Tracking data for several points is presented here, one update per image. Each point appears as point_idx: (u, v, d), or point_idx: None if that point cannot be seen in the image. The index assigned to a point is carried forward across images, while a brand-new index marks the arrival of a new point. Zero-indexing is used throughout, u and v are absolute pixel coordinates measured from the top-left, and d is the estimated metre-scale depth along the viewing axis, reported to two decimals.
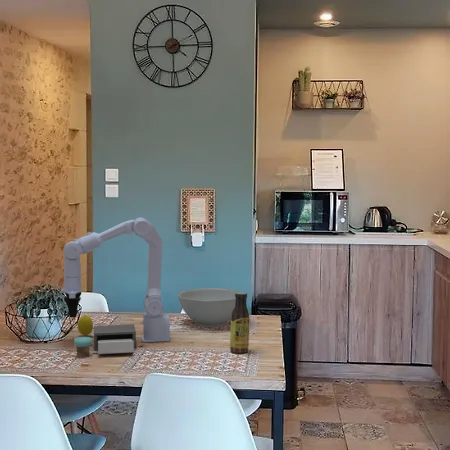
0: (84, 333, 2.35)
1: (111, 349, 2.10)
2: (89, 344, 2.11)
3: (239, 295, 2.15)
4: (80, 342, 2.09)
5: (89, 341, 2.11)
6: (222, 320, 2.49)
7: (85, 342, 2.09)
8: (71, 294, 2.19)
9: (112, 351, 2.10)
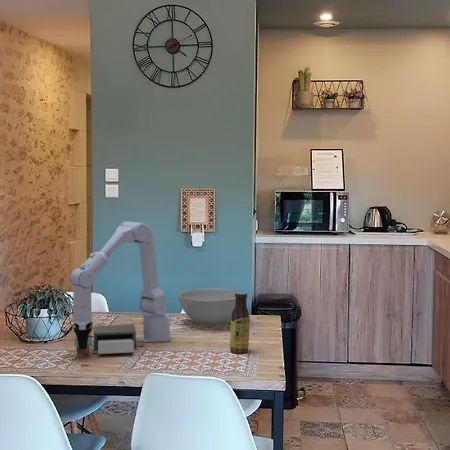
0: None
1: (111, 349, 2.10)
2: (89, 344, 2.11)
3: (239, 295, 2.15)
4: None
5: (89, 341, 2.11)
6: (222, 320, 2.49)
7: None
8: (81, 325, 2.04)
9: (112, 351, 2.10)
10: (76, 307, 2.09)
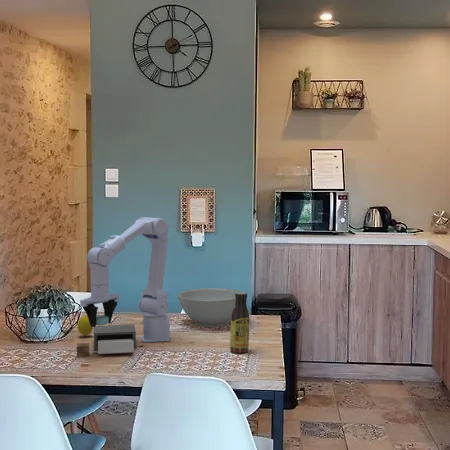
0: (84, 333, 2.35)
1: (111, 349, 2.10)
2: (100, 323, 2.11)
3: (239, 295, 2.15)
4: None
5: (100, 320, 2.11)
6: (222, 320, 2.49)
7: None
8: (81, 302, 2.08)
9: (112, 351, 2.10)
10: (91, 284, 2.12)
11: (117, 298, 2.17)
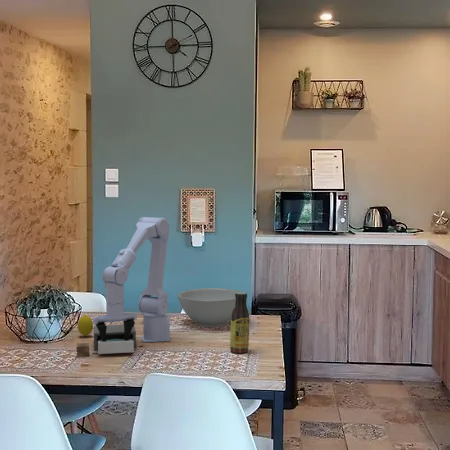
0: (84, 333, 2.35)
1: (111, 349, 2.10)
2: None
3: (239, 295, 2.15)
4: None
5: None
6: (222, 320, 2.49)
7: None
8: (93, 319, 2.12)
9: (112, 351, 2.10)
10: None
11: (134, 318, 2.17)
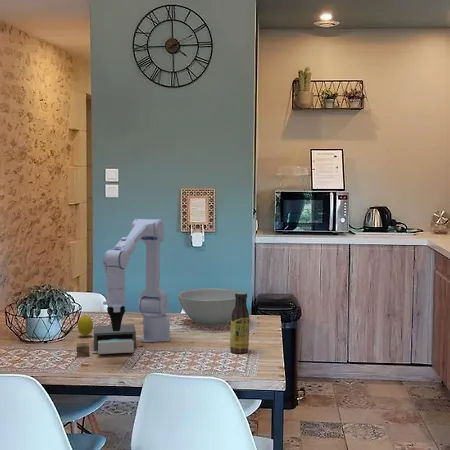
0: (84, 333, 2.35)
1: (111, 349, 2.10)
2: None
3: (239, 295, 2.15)
4: None
5: None
6: (222, 320, 2.49)
7: None
8: (116, 308, 1.98)
9: (112, 351, 2.10)
10: (110, 289, 2.02)
11: None
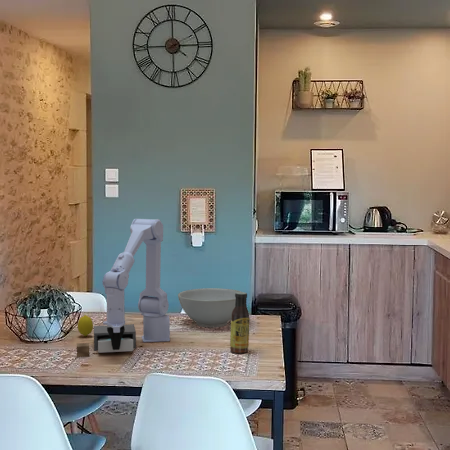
0: (84, 333, 2.35)
1: (111, 348, 2.12)
2: None
3: (239, 295, 2.15)
4: None
5: None
6: (222, 320, 2.49)
7: None
8: (115, 328, 2.03)
9: (112, 350, 2.12)
10: (109, 310, 2.07)
11: None
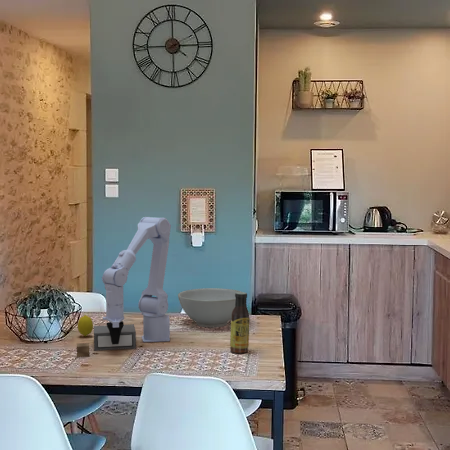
0: (84, 333, 2.35)
1: (110, 342, 2.19)
2: None
3: (239, 295, 2.15)
4: None
5: None
6: (222, 320, 2.49)
7: None
8: (115, 323, 2.10)
9: (111, 344, 2.19)
10: (109, 305, 2.14)
11: None
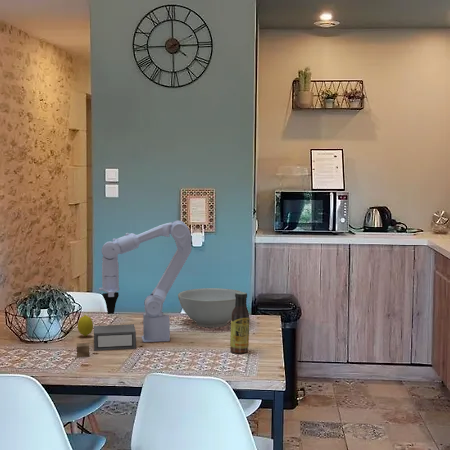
0: (84, 333, 2.35)
1: (110, 342, 2.19)
2: None
3: (239, 295, 2.15)
4: None
5: None
6: (222, 320, 2.49)
7: None
8: (110, 293, 2.22)
9: (111, 344, 2.19)
10: (105, 277, 2.27)
11: None
